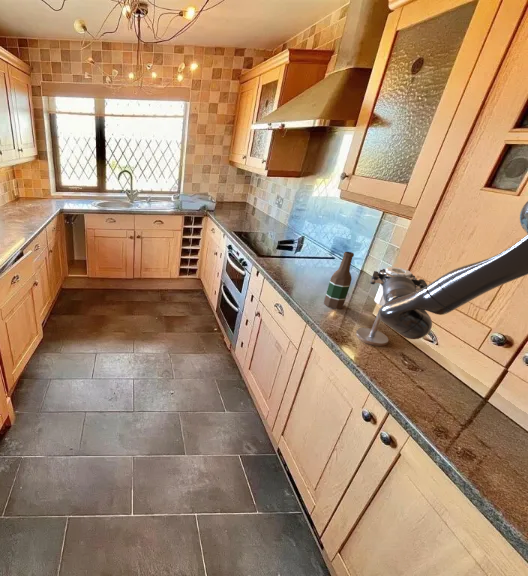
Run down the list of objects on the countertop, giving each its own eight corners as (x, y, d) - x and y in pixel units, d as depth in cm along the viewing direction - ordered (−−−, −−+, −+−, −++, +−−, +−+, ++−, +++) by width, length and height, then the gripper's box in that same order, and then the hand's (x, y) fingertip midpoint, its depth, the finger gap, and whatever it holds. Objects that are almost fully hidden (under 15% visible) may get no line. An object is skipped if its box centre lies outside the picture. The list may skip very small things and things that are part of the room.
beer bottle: (336, 311, 128) (353, 257, 117) (319, 303, 134) (333, 251, 123) (347, 306, 131) (364, 253, 121) (330, 298, 138) (345, 248, 127)
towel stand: (383, 333, 113) (395, 305, 108) (390, 348, 106) (403, 318, 100) (353, 328, 117) (363, 300, 111) (357, 342, 109) (368, 313, 104)
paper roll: (394, 300, 105) (407, 268, 100) (399, 309, 100) (414, 276, 95) (372, 297, 108) (384, 265, 102) (376, 305, 103) (389, 272, 97)
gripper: (437, 287, 84) (428, 267, 96) (374, 276, 91) (373, 259, 103) (426, 311, 87) (419, 289, 99) (365, 298, 94) (366, 279, 107)
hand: (396, 273), depth 101 cm, fingers closed on paper roll, 6 cm apart
